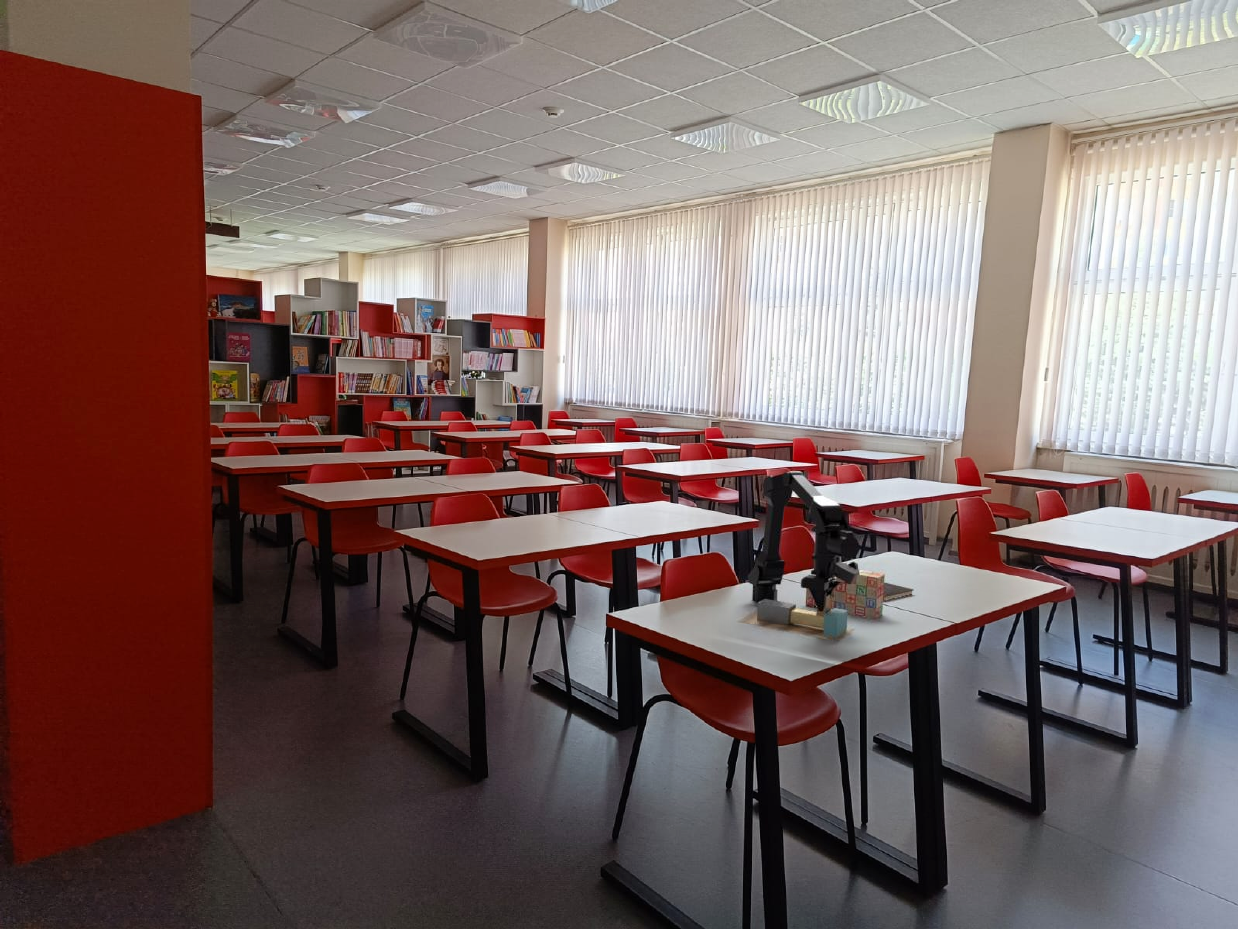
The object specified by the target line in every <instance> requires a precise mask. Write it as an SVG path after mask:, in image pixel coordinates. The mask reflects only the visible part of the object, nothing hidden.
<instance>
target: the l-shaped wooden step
mask: <svg viewBox="0 0 1238 929" xmlns="http://www.w3.org/2000/svg"><path fill="white" fill-rule="evenodd" d="M829 611H831V610H830V594H826V599H825V604H824V609H823V611H822V612H821V611H818V608H816V611H811V610H807V609H801V608H797V607H796V608H792V609H790V614H789V622H790V623H795V624H800V625H806V626H811V627H816V628H821V629H824V615H825V614H826V613H828V612H829Z"/></svg>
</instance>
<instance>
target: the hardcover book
mask: <svg viewBox="0 0 1238 929" xmlns="http://www.w3.org/2000/svg"><path fill="white" fill-rule="evenodd" d="M913 591H915V589H913V588H909V587H905V586H900V585H896V584H893V583H888V582H885V581H884V594H883V602H885V601H884V600H886V599H891V600H893V599H892V598H895V599H897V598H896V597H900V596H904V597H906V596H905V595H909V594H912V595H913ZM909 596H910V595H909ZM900 598H901V597H900ZM886 601H887V600H886Z"/></svg>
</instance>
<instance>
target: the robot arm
mask: <svg viewBox="0 0 1238 929" xmlns="http://www.w3.org/2000/svg"><path fill="white" fill-rule="evenodd" d="M762 490H763V492H762V496H763V497H764V499H765V502H766V504H767V505H766V516H765V524H764V533H763V541H762V542H763V543H762V550H761V551H760V553H759V554H758V555H757V557H755V561H754V562H755V563H754V566H753V568H752V569H751V571H750V573H749V574H748V575H747V579H748V583H749V584H750V585H752V594H751V598H752V600H751V601H754V602H756V603H758V602H760V601H762V600H764V599H769V600H775V601H778V589H777V585H781V584H782V581H783V576H784V574H785V565H786V562H785V560H783V559H782V556H781V555H780V548H781V540H782V534H783V533H782V531H783V523H784V516H785V507H786V506H787V504H788V503H789V502H790V501H791V499H792V495H793V493H794V494H795V495H796V496H797V497H798V498H799V500H801V501H802V503H804V505H805V506H806V507H807V508H808V510H809V511H808V515H809V517H810V519H811V521H812V522H813V524H814V526H813V527H812V528H810V531H811V533H815V535H814V536H815V537H814V552H813V554H812V555H811V559H812V560H813V569H812V570H811V571H810V574H812V575H810V574H808V575H806V576H803V577H802V579H801V580H800V588H803V589H806V588H807V589H809V590H810V592H811V594H812V597H813V599H814V601H815V604H816V606H817V608H818V611H821V612H822V611H823V609H824V604H825V599H826V594H830V599H831V596H832V593H833V590H834V588H835V587H837V586H838V585H839V584H841V582H839V581H836V578H835V577H837V578H839V579H841V580H843V581H845V583H847V584H852V583H853V582H855V580H856V578H857V576H858V575H859V571H860V570H861V569H860V568H859V564H858V563H857V562H855V561H851V562H849V563H847V562H845V563H844V562H843V561H841V558H842V559H845V560H853V559H854V558H856V557H857V556H858V554H859V553H860V552H859V551H860V548H861V547H860V543H859V540H858V539H857V538H856V537H854V532H853V531H851V528H850V526H849V525H850V524H849V522H848V520H847V518H846V515H845V512H844V509H843V507H842V506H841V505H840V504H839V503H837V502H836V501H835V500H833V499H830V498H828V497H825V496H823V495H822V494H821V492H819V491H818V490H817V489H816V487H815V486H814V485H813V484H812V483H811V482H810V481H809V480H808V479H807V478H806V477H805V474H804V473H803V472H802V471H800V470H799V471H798V470H797V471H796V470H793V471H789V470H788V471H786V472H783V473H781V474H777V475H768V476H766V478H764V479H763V482H762ZM815 575H816V576H815ZM817 608H816V609H817Z"/></svg>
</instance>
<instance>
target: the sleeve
mask: <svg viewBox="0 0 1238 929" xmlns="http://www.w3.org/2000/svg"><path fill="white" fill-rule="evenodd" d="M796 606H797V604H796V603H791V602H785V601H780V600H777V601H775V600H769V599H764V600H762V601H760V602H757V609H756V611H757V620H758V621H763V622H768V623H773V624H778V625H783V626H790V625H791V624H793V623H790V622H789V614H790V609H792V608H796V609H797V607H796Z"/></svg>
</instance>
